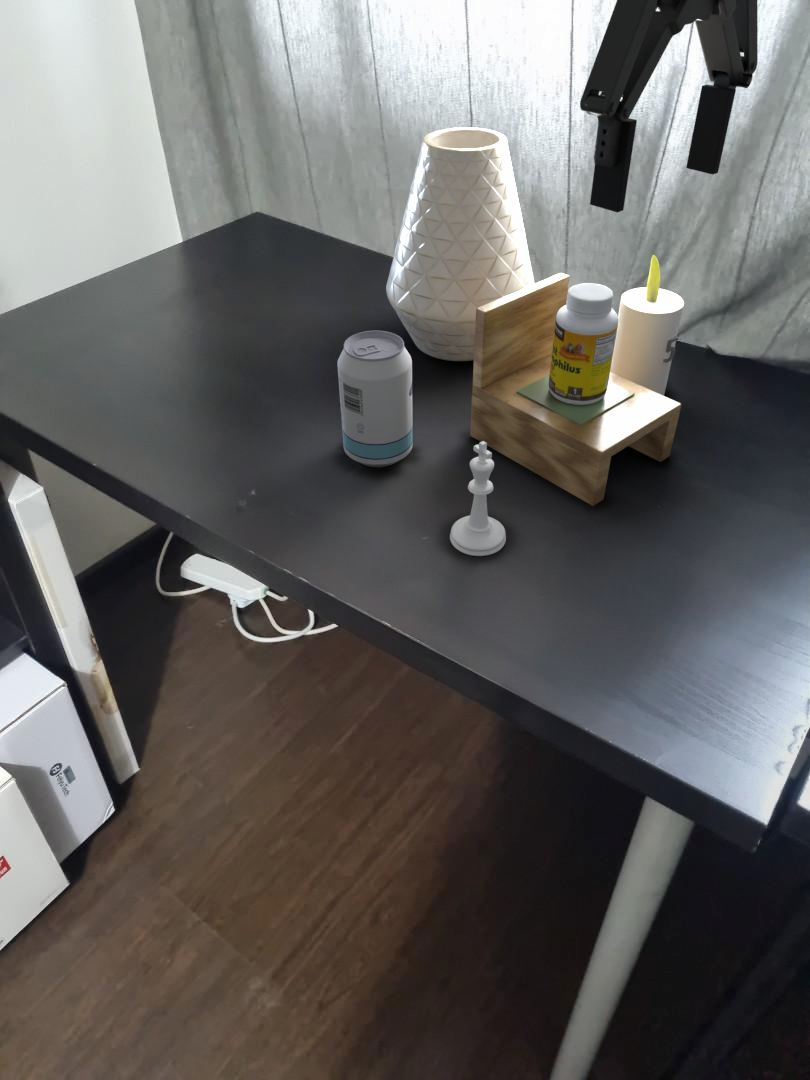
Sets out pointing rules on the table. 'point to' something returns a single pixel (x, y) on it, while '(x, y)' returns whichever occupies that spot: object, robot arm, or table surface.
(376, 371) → the beverage can
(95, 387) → the table surface
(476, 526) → the chess piece
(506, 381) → the shelf
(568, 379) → the supplement bottle
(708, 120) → the robot arm
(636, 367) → the candle
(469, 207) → the vase
